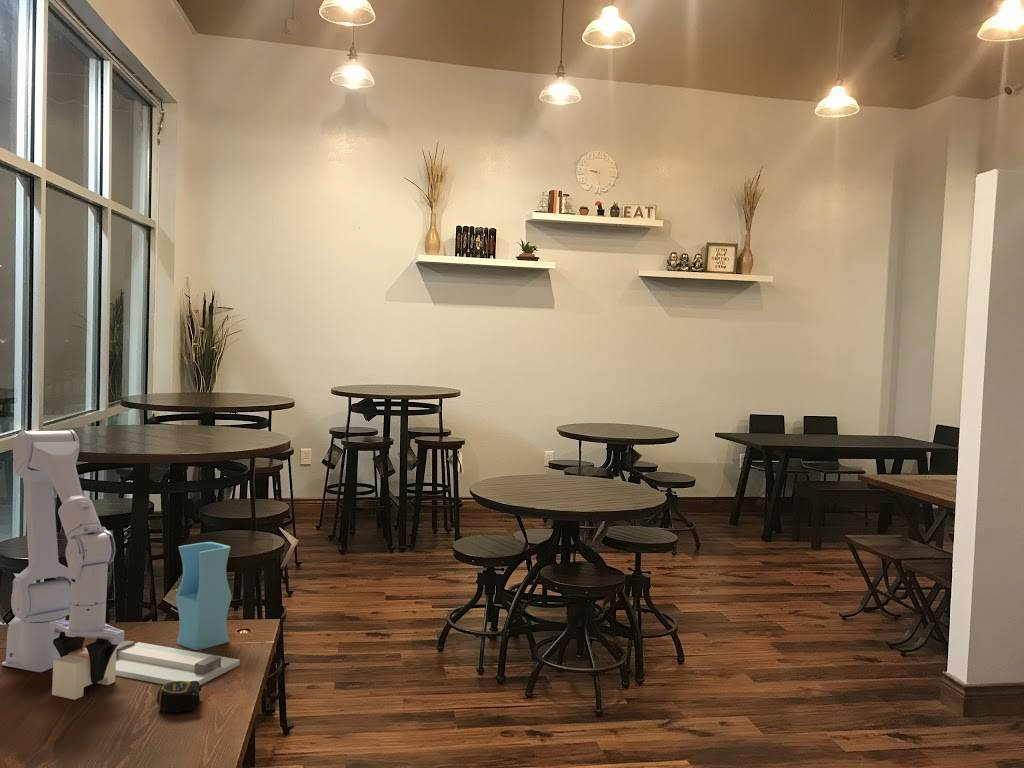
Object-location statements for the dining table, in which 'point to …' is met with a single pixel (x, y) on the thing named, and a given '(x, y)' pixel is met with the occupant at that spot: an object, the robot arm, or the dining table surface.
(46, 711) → the dining table surface
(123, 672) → the rail board
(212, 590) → the vase
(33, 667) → the robot arm
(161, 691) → the tape measure
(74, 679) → the block
